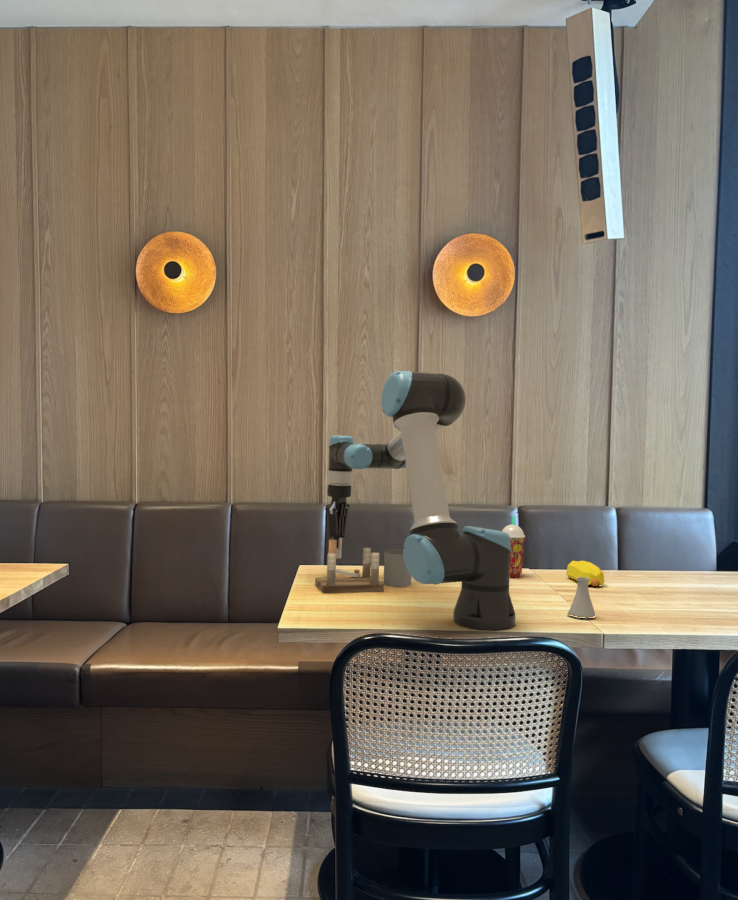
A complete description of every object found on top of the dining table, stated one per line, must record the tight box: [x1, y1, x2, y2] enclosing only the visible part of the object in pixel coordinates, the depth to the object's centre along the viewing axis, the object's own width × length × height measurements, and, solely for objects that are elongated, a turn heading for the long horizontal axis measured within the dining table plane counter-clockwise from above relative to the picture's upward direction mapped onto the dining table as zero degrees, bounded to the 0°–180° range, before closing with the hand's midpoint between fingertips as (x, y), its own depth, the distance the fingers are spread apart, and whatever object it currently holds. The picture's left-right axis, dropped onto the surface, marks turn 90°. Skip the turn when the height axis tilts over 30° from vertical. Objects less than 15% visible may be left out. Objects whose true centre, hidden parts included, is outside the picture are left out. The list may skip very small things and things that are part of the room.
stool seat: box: [314, 547, 385, 594], centre depth 205 cm, size 12×18×11 cm
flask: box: [567, 577, 596, 618], centre depth 179 cm, size 7×7×10 cm
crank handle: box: [328, 538, 361, 577], centre depth 213 cm, size 2×12×10 cm, turn 52°
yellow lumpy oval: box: [565, 560, 605, 587], centre depth 224 cm, size 18×7×8 cm
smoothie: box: [501, 515, 526, 578], centre depth 230 cm, size 8×8×20 cm
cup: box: [383, 549, 412, 588], centre depth 212 cm, size 8×8×10 cm
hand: (336, 557), depth 220 cm, fingers closed
